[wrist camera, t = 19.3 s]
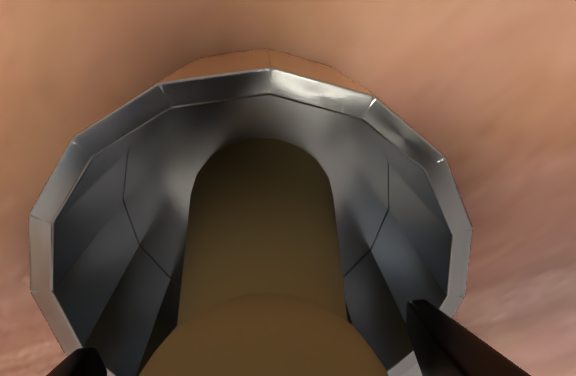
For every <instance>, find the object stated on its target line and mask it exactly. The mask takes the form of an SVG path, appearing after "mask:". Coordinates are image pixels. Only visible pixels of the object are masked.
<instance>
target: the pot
mask: <svg viewBox="0 0 576 376" xmlns="http://www.w3.org/2000/svg"><path fill="white" fill-rule="evenodd" d="M249 138H277V139H280V140H283V141H286V142H289V143H292V144H295V145H298V146H300V147H301V148H302V149H304V150H305V151H306V152H308V153H309V154H310V155H311V156H313V157H314V158H315V159H317V161H318V162H319V164H320V165H321V167H322V168H323V170H324V171H325V173H326V174H327V176H328V177H329V181H330V185H331V189H332V193H333V198H334V207H335V215H336V224H337V233H338V242H339V251H340V259H341V268H342V277H343V286H344V294H345V303H346V312H347V321H348V322H349V323H350V324H352V325H353V326H354V327H355V328H356V330H357V331H358V332H359V333H360V335H361V336H362V337H363V338H364V340H365V341H366V342H367V343H368V345H369V346H370V347H371V349H372V350H373V352H374V353H375V354H376V356H377V357H378V359H379V360H380V362H381V363H382V365H383V366H384V367H385V369H386V371H387V373H388V376H403V375H404V374H405V373H406V372H408V371H409V370H410V369H411V368H412V367H414V366H415V365H416V364H417V363H418V362H417V359H416V356H415V353H414V350H413V347H412V344H411V342H410V339H409V336H408V332H407V328H406V307H407V302H408V301H409V300H414V299H421V298H423V299H426V300H427V301H429V302H430V303H431V304H433V305H434V306H435V307H437V308H438V309H440V310H441V311H442V312H444V313H445V314H446V315H448V316H449V317H451V318H452V317H453V315H454V314H455V312H456V310H457V309H458V307H459V305H460V304H461V302H462V300H463V299H464V295H465V292H466V283H467V274H468V265H469V257H470V248H471V239H472V224H471V221H470V219H469V216H468V213H467V211H466V208H465V206H464V203H463V201H462V198H461V196H460V193H459V191H458V188H457V186H456V183H455V181H454V178H453V176H452V173H451V170H450V168H449V165H448V163H447V160H446V158H445V157H444V156H443V154H442V153H441V152H440V151H439V150H438V149H436V148H435V147H434V146H433V145H432V144H431V143H429V142H428V141H427V140H426V139H425V138H424V137H422V136H421V135H420V134H419V133H418V132H417V131H416V130H414V129H413V128H412V127H411V126H410V125H409V124H407V123H406V122H405V121H404V120H403V119H402V118H400V117H399V116H398V115H397V114H396V113H395V112H393V111H392V110H391V109H390V108H389V107H388V106H386V105H385V104H384V103H383V102H382V101H381V100H379V99H378V98H377V97H376V96H374V95H373V94H371V93H370V92H368V91H367V90H365V89H364V88H362V87H361V86H359V85H358V84H356V83H355V82H353V81H352V80H350V79H349V78H347V77H346V76H344V75H343V74H342V73H340V72H339V71H337V70H336V69H334V68H332V67H330V66H327V65H323V64H320V63H316V62H313V61H310V60H307V59H304V58H301V57H298V56H294V55H289V54H285V53H282V52H278V51H275V50H271V49H259V50H252V51H241V52H232V53H227V54H222V55H216V56H209V57H202V58H199V59H196V60H194V61H193V62H191V63H189V64H188V65H186V66H184V67H183V68H181V69H179V70H178V71H176V72H174V73H173V74H171V75H169V76H168V77H166V78H164V79H163V80H161V81H159V82H158V83H156V84H155V85H153V86H151V87H150V88H148V89H147V90H145V91H144V92H142V93H140V94H139V95H137V96H136V97H134V98H133V99H131V100H130V101H128V102H126V103H125V104H123V105H122V106H120V107H119V108H117V109H115V110H114V111H112V112H111V113H109V114H108V115H106V116H105V117H103V118H101V119H100V120H98V121H97V122H95V123H94V124H92V125H90V126H89V127H87V128H86V129H84V130H83V131H81V132H79V133H78V134H76V135H75V136H73V138H72V139H71V140H70V142H69V144H68V145H67V147H66V149H65V151H64V152H63V154H62V156H61V158H60V160H59V161H58V163H57V165H56V167H55V168H54V170H53V172H52V174H51V176H50V177H49V179H48V181H47V183H46V184H45V186H44V188H43V190H42V192H41V193H40V195H39V197H38V199H37V201H36V202H35V204H34V206H33V208H32V209H31V211H30V215H29V256H30V290H31V294H32V296H33V298H34V299H35V301H36V303H37V305H38V307H39V308H40V310H41V312H42V314H43V316H44V317H45V319H46V321H47V323H48V325H49V326H50V328H51V330H52V332H53V334H54V335H55V337H56V339H57V341H58V343H59V344H60V346H61V348H62V350H63V352H64V353H66V355H67V356H69V355H70V354H71V353H72V352H73V351H75V350H76V349H79V348H85V347H95V348H96V349H97V350H98V352H99V354H100V356H101V358H102V360H103V362H104V364H105V366H106V369H107V376H139V374H140V373H141V371H142V370H143V368H144V367H145V365H146V364H147V362H148V361H149V359H150V358H151V356H152V355H153V353H154V352H155V351H156V349H157V348H158V347H159V346H160V345H161V344H162V343H163V341H164V340H165V339H166V338H167V337H168V336H169V335H170V333H171V332H172V331H173V330H174V329H175V328H176V327H177V321H178V311H179V302H180V292H181V282H182V273H183V263H184V253H185V244H186V234H187V225H188V215H189V205H190V196H191V192H192V188H193V185H194V182H195V178H196V175H197V173H198V172H199V171H200V169H201V168H202V167H203V165H204V164H205V163H206V161H207V160H208V159H209V157H211V156H212V155H214V154H215V153H217V152H218V151H220V150H221V149H223V148H224V147H226V146H227V145H229V144H231V143H235V142H238V141H242V140H245V139H249Z"/></svg>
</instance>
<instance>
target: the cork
mask: <svg viewBox="0 0 576 376" xmlns="http://www.w3.org/2000/svg"><path fill="white" fill-rule="evenodd" d="M139 376H388V373H387V371H386V369H385V367H384V366H383V365H382V363H381V362H380V360H379V359H378V357H377V356H376V354H375V353H374V352H373V350H372V349H371V347H370V346H369V345H368V343H367V342H366V341H365V340H364V338H363V337H362V336H361V335H360V333H359V332H358V331H357V330H356V328H355V327H354V326H353V325H352V324H350V323H349V322H348V321H347V312H346V303H345V294H344V286H343V277H342V268H341V259H340V251H339V242H338V233H337V224H336V215H335V207H334V198H333V193H332V189H331V185H330V181H329V177H328V176H327V174H326V173H325V171H324V170H323V168H322V167H321V165H320V164H319V162H318V161H317V159H315V158H314V157H313V156H311V155H310V154H309V153H308V152H306V151H305V150H304V149H302V148H301V147H300V146H298V145H295V144H292V143H289V142H286V141H283V140H280V139H277V138H249V139H245V140H242V141H238V142H235V143H231V144H229V145H227V146H226V147H224V148H223V149H221V150H220V151H218V152H217V153H215V154H214V155H212V156H211V157H209V159H208V160H207V161H206V163H205V164H204V165H203V167H202V168H201V169H200V171H199V172H198V173H197V175H196V178H195V182H194V185H193V188H192V192H191V196H190V205H189V215H188V225H187V234H186V244H185V253H184V263H183V273H182V282H181V292H180V302H179V311H178V321H177V327H176V328H175V329H174V330H173V331H172V332H171V333H170V335H169V336H168V337H167V338H166V339H165V340H164V341H163V343H162V344H161V345H160V346H159V347H158V348H157V349H156V351H155V352H154V353H153V355H152V356H151V358H150V359H149V361H148V362H147V364H146V365H145V367H144V368H143V370H142V371H141V373H140V374H139Z"/></svg>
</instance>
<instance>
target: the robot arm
mask: <svg viewBox="0 0 576 376" xmlns="http://www.w3.org/2000/svg"><path fill="white" fill-rule="evenodd" d="M406 328H407V332H408V336H409V339H410V342H411V344H412V347H413V350H414V353H415V356H416V359H417V362H418V365H419V368H420V370H421V373H422V376H530V375H529V374H528V373H526V372H525V371H524V370H522V369H521V368H519V367H518V366H517V365H515V364H514V363H513V362H511V361H510V360H508V359H507V358H506V357H504V356H503V355H502V354H500V353H499V352H497V351H496V350H495V349H493V348H492V347H491V346H489V345H488V344H486V343H485V342H484V341H482V340H481V339H480V338H478V337H477V336H475V335H474V334H473V333H471V332H470V331H469V330H467V329H466V328H464V327H463V326H462V325H460V324H459V323H458V322H456V321H455V320H453V319H452V318H451V317H449V316H448V315H446V314H445V313H444V312H442V311H441V310H440V309H438V308H437V307H435V306H434V305H433V304H431V303H430V302H429V301H427V300H426V299H423V298H421V299H414V300H409V301H408V302H407V307H406ZM46 376H107V369H106V366H105V364H104V362H103V360H102V358H101V356H100V354H99V352H98V350H97V349H96V348H95V347H85V348H79V349H76V350H75V351H73V352H72V353H71V354H70V355H69V356H68V357H67V358H65V359H64V360H63V361H62V362H61V363H60V364H59V365H58V366H57V367H55V368H54V369H53V370H52V371H51V372H50V373H49V374H48V375H46Z"/></svg>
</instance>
